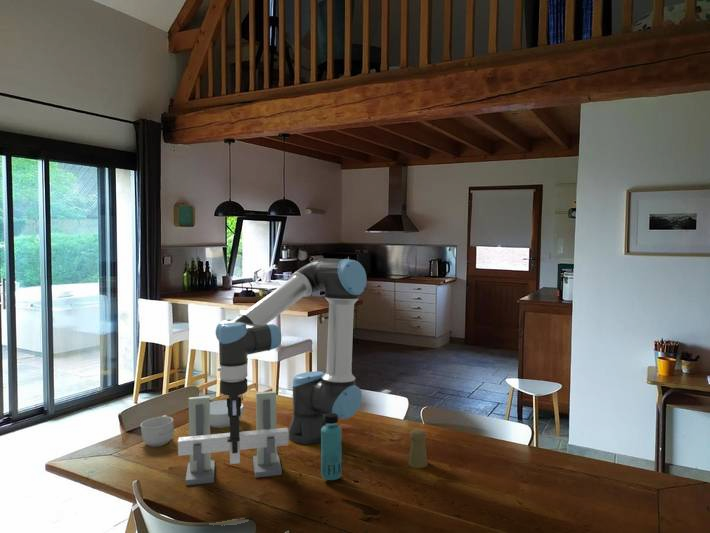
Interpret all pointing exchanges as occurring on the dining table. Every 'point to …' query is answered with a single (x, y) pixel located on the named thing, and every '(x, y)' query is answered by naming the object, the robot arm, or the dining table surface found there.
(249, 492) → the dining table surface
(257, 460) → the rail standards
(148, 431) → the teacup
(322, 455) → the beverage bottle
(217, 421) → the cereal bowl
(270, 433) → the hang rail
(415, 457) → the green shaker
